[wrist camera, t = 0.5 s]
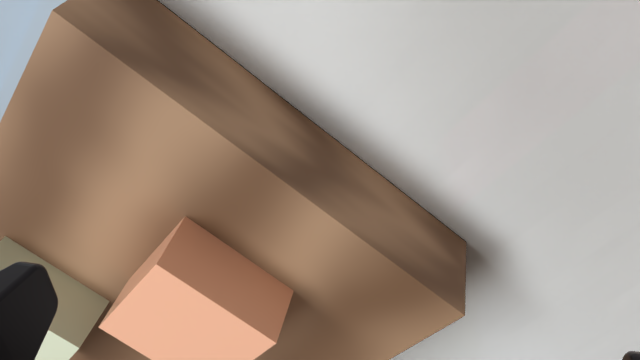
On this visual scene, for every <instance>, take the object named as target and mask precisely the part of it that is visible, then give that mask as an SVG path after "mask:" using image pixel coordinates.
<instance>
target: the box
mask: <svg viewBox="0 0 640 360" xmlns="http://www.w3.org/2000/svg"><path fill="white" fill-rule="evenodd" d="M65 1H67V0H0V121H1V119H2V117H3V115H4V113H5V111H6V108H7V106H8V104H9V102H10V100H11V98H12V96H13V93H14V91H15V89H16V87H17V85H18V83H19V80H20V78H21V76H22V74H23V72H24V70H25V68H26V65H27V63H28V61H29V59H30V57H31V55H32V52H33V50H34V48H35V46H36V44H37V42H38V40H39V37H40V35H41V33H42V31H43V29H44V27H45V24H46V22H47V20H48V18H49V16H50V14H51V12H52V10H53V9H55V8H56V7H58V6H59V5H61V4H62V3H64V2H65Z"/></svg>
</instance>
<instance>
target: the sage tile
mask: <svg viewBox="0 0 640 360" xmlns="http://www.w3.org/2000/svg"><path fill="white" fill-rule="evenodd" d="M16 262H30V263H37V264H41V265H43V266H44V267H45V268H46V270H47V272H48V274H49V277H50V279H51V282H52V284H53V287H54V289H55V292H56V294H57V297H58V308H57V312H56V314H55V317H54V319H53V321H52V323H51V325H50V327H49V330H48V332H47V334H46V336H45V338H44V340H43V343H42V345H41V347H40V349H39V351H38V354H37V356H36V358H35V360H69V359H70V358H71V357H72V356H73V355H74V354H75V353H76V351H77V350H78V349H79V348H80V347H81V345H82V343H83V342H84V340H85V339H86V337H87V336H88V334H89V333H90V331H91V330H92V328H93V326H94V325H95V323H96V322H97V320H98V319H99V317H100V316H101V314H102V313H103V311H104V309H105V308H106V306H107V305H108V303H109V302H110V301H108V300H107V299H105V298H104V297H102V296H100V295H99V294H97V293H96V292H94V291H92V290H91V289H89V288H88V287H86V286H84V285H83V284H81V283H80V282H78V281H76V280H75V279H73V278H72V277H70V276H68V275H67V274H65V273H64V272H62V271H60V270H59V269H57V268H56V267H54V266H52V265H51V264H49V263H48V262H46V261H44V260H43V259H41V258H40V257H38V256H36V255H35V254H33V253H32V252H30V251H28V250H27V249H25V248H24V247H22V246H21V245H19V244H17V243H16V242H14V241H13V240H11V239H9V238H8V237H6V236H5V237H4V238H3V239H2V240H1V241H0V271H1V270H3V269H4V268H6V267H8V266H10V265H12V264H14V263H16Z"/></svg>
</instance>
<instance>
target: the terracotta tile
mask: <svg viewBox="0 0 640 360" xmlns="http://www.w3.org/2000/svg"><path fill="white" fill-rule="evenodd" d="M293 292H294V291H293V290H292V289H290V288H289V287H288V286H286V285H285V284H283V283H282V282H280V281H279V280H277V279H276V278H274V277H273V276H272V275H270V274H269V273H267V272H266V271H264V270H263V269H261V268H260V267H259V266H257V265H256V264H254V263H253V262H251V261H250V260H248V259H247V258H245V257H244V256H243V255H241V254H240V253H238V252H237V251H235V250H234V249H232V248H231V247H230V246H228V245H227V244H225V243H224V242H222V241H221V240H219V239H218V238H216V237H215V236H214V235H212V234H211V233H209V232H208V231H206V230H205V229H203V228H202V227H200V226H199V225H198V224H196V223H195V222H193V221H192V220H190V219H189V218H187V217H186V216H185V217H184V218H183V219H182V220H181V221H180V223H179V224H178V225H177V226H176V227H175V228H174V229H173V230H172V232H171V233H170V234H169V235H168V236H167V237H166V238H165V239H164V241H163V242H162V243H161V244H160V245H159V246H158V247H157V248H156V250H155V251H154V252H153V253H152V254H151V255H150V256H149V257H148V259H147V260H146V261H145V262H144V263H143V264H142V265H141V266H140V268H139V269H138V270H137V271H136V272H135V273H134V274H133V275H132V277H131V278H130V279H129V280H128V282H127V283H126V285H125V286H124V288H123V289H122V291H121V293H120V294H119V296H118V297H117V299H116V300H115V302H114V304H113V305H112V307H111V308H110V310H109V311H108V313H107V315H106V316H105V318H104V319H103V321H102V322H101V324H100V325H99V328H100V329H102V330H104V331H105V332H107V333H108V334H110V335H112V336H113V337H115V338H117V339H118V340H120V341H122V342H123V343H125V344H126V345H128V346H130V347H131V348H133V349H135V350H136V351H138V352H140V353H141V354H143V355H145V356H146V357H148V358H149V359H151V360H254V359H255V358H257V357H258V356H260V355H261V354H262V353H264V352H265V351H267V350H268V349H269V348H271V347H272V346H273V345H275V344H276V343H277V340H278V337H279V334H280V331H281V328H282V325H283V322H284V319H285V316H286V313H287V310H288V307H289V304H290V301H291V298H292V295H293Z"/></svg>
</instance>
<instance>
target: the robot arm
mask: <svg viewBox="0 0 640 360" xmlns="http://www.w3.org/2000/svg"><path fill="white" fill-rule="evenodd" d="M57 308H58V297H57V294H56V292H55V289H54V287H53V284H52V282H51V279H50V277H49V274H48V272H47V270H46V268H45V267H44V266H43V265H41V264H37V263H30V262H16V263H14V264H12V265H10V266H8V267H6V268H4V269H3V270H1V271H0V360H35V358H36V356H37V354H38V351H39V349H40V347H41V345H42V343H43V340H44V338H45V336H46V334H47V332H48V330H49V327H50V325H51V323H52V321H53V319H54V317H55V314H56V312H57ZM622 360H640V352H636V351H629V352H627V353H626V354H625V355H624V357H623V359H622Z"/></svg>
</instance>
